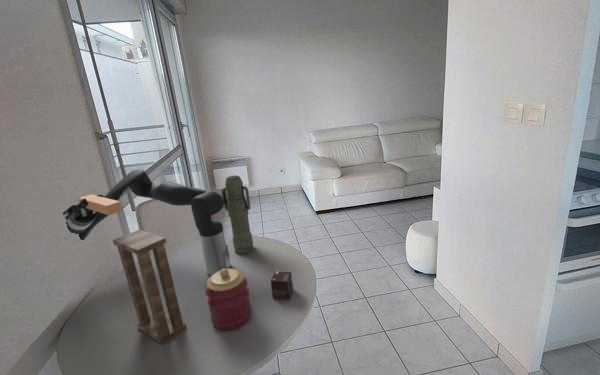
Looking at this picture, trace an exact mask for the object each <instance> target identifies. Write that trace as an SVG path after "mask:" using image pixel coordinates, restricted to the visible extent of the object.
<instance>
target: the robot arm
mask: <svg viewBox="0 0 600 375" xmlns="http://www.w3.org/2000/svg"><path fill="white" fill-rule="evenodd" d="M127 189H129V190H130V191H131V192H132V194H133V195H134V196H137V197H141V198H145V199H153V200H156V201H158V202H162V203H165V204H169V205H172V206H178V207H179V206H190V207H191V212H192V216H193V219H194V224H195V226H196V228H197V230H198V234H199V239H200V243H201V244H200V245H201V250H202V255H203V257H204V263H205V270H206V273H207V274H208V275H209V276H212V275H213V274H215V273H216V272H218V271H220V270H222V269H231V265H232V264H231V263H232V262H231V259H230V252H229V246H228V244H226V237H225V234H224V233H225V232H224V227H223V224H222V222H221V221H218V220H213V219H212V216H214V215H216V214H218V213H219V212H220V211H221V210H223V208H224V207H225V206H224V200H223V196H222V195H221V194H220V193H218V192H217V191H214V190H208V189H201V188H195V187H191V186H187V185H184V184H180V183H177V182H174V181H164V182H162V183H159V184H158V185H156V184H155V183H154V182H152V180H151V178H150V177H149V175H148V174H147V172H146V171H145V170H144V169H142V168H138V169H134V170H132V171H129V172H128V173H127V174H126V175H124V176H123V178H121V180H120V181H118V182H117V183H116V184H115V185H114V186H113V187H112V188H111V189H110V190H109V191H108V192H107V193H106V194H105V195H103V194H101V193H99V194H97V195H96V196H99V197H104V198H108V199H112V200H116V201H120V199H121V197H122V195H123V193H124V192H125V191H127ZM87 205H88V202H87V200H86V198H84V199H82V201H81V202H78V203H76V204H72V205H70V206H69V207H68V208H67V209H65V211H63V212H62V215H63V217H64V218H65V219H66V220H67V222H66V224H67V228H68V230H69V231H70V232H71V233H75V234H79V237H80V239H81V240H84V241H85V239H86V238H88V235H89V234H90V233H91V232H92V230H93V229H94V228H95V227H96V226H97V225H98V224H100V223H101V222H102V221H103V220H105V219H106V218H107V217H109V215H106V214H103V213H100V212H97V211H93V210H90V209H87V208H86V207H87ZM65 219H64V220H65Z"/></svg>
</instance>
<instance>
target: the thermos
mask: <svg viewBox="0 0 600 375" xmlns="http://www.w3.org/2000/svg"><path fill="white" fill-rule="evenodd" d="M224 186H225V187H223V188H222V189H221V190H222V191H221V194H222V195H221V196H222V198H223V201H224V206H223V207H224V209H225V210H226V211H227V213H228V217H229V219H230V225H231V230H232V243H233V244H232V245H233V248H234V253H235V254H237V255H245V254H249V253H251V252H252V251H254V240H253V234H252V233H251V229H250V228H251V227H250V222H249V210H250V209H251V202H250V195H249V194H250V193H249V189H248V187H247V186H244V183H243V180H242V178H241V176H239V175H230V176H228V177H226V178H225V183H224Z"/></svg>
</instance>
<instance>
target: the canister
mask: <svg viewBox="0 0 600 375" xmlns="http://www.w3.org/2000/svg"><path fill="white" fill-rule="evenodd" d="M206 281H207V282H206V287H205V291H204V294H205V295H206V296H207V299H206V300H207V304H208V308H209V313H210V320H211V322H212V325H213V327H214V328H215V329H217V330H219V331H223V332H224V331H225V332H227V331H228V332H229V331H233V330H234V331H235V330H238V329H239V328H242V327H243V326H245V325H246V324H247V323H248V322H249V321H250V319H251V318H252V316H253V315H252V312H253V306H252V304H251V299H250V289H249V288H248V279H247V278H246V277H245V274H244V273H243V272H242V271H241V270H240V269H236V268H235V269H234V268H229V269H222V270H220V271H218V272H216V273H215V274H213V275H210V277H209V278H208V279H207V280H206Z"/></svg>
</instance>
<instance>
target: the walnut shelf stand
mask: <svg viewBox="0 0 600 375" xmlns="http://www.w3.org/2000/svg"><path fill="white" fill-rule="evenodd" d="M112 243H113V245H114V246H115V247H117V250H118V253H119V258H120V259H121V264H122V267H123V271H124V275H125V278H126V281H127V284H128V289H129V292H130V295H131V299H132V301H133V305H134V309H135V313H136V316H137V319H138V323H137V327H138V329H139V330H141V331H142V332H144V333H145V334H147V335H149V336H150V337H152V339H155V340H156V341H157V342H159V343H160V344H162V345H165V344H166V343H167V342H168V341H170V340H172V339H173V338H174V337H175V336H177V335H178V334H179V333H181V332H182V331H183V330H186V328H187V324H186V323H185V321H183V318H182V314H181V310H180V305H179V301H178V297H177V293H176V288H175V284H174V280H173V276H172V272H171V268H170V264H169V263H170V262H169V260H168V254H167V250H166V247H165V244H166V243H167V240H166V237H163V236H161V235H158V234H155V233H152V232H149V231H146V230H143V229H140V228H139V229H137V230H135V231H131V232H129V233H127V234H125V235H122V236H119V237H117V238H114V239H113V240H112ZM150 251H152V253H153V257H154V260H155V265H156V268H157V272H158V273H157V274H158V276H159V280H160V285H161V288H162V292H163V293H162V294H163V296H164V301H165V304H166V308H167V312H166V311H165V309H164V305H163V300H162V297H161V294H160V289H159V285H158V281H157V278H156V274H155V270H154V266H153V262H152V258H151V253H150ZM133 254H135V256H136V259H137V263H138V267H139V271H140V273H141V277H142V281H143V284H144V289H145V292H146V296H147V299H148V303H149V307H150V311H151V314H150V315H149V310H148V307H147V303H146V299H145V296H144V291H143V288H142V285H141V281H140V278H139V274H138V271H137V266H136V263H135V260H134V257H133V256H134V255H133Z"/></svg>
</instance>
